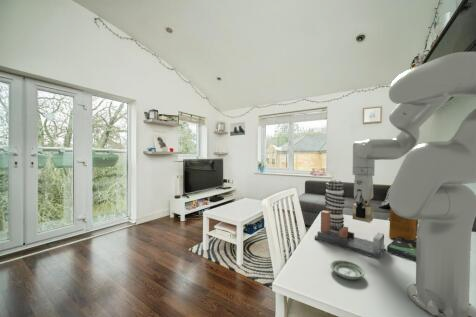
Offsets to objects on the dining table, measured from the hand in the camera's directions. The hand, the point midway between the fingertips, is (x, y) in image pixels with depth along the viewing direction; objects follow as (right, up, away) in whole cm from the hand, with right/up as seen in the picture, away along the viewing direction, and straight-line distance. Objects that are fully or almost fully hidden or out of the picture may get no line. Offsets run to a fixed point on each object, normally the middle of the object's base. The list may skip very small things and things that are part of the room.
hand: (362, 215), depth 82 cm
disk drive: (+17, -14, -2) cm, 22 cm away
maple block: (0, -2, 0) cm, 2 cm away
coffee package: (+25, -13, +10) cm, 30 cm away
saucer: (-16, -14, -18) cm, 28 cm away
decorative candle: (-2, -13, +19) cm, 23 cm away
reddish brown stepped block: (-8, -11, +8) cm, 16 cm away
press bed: (-4, -13, +4) cm, 14 cm away
